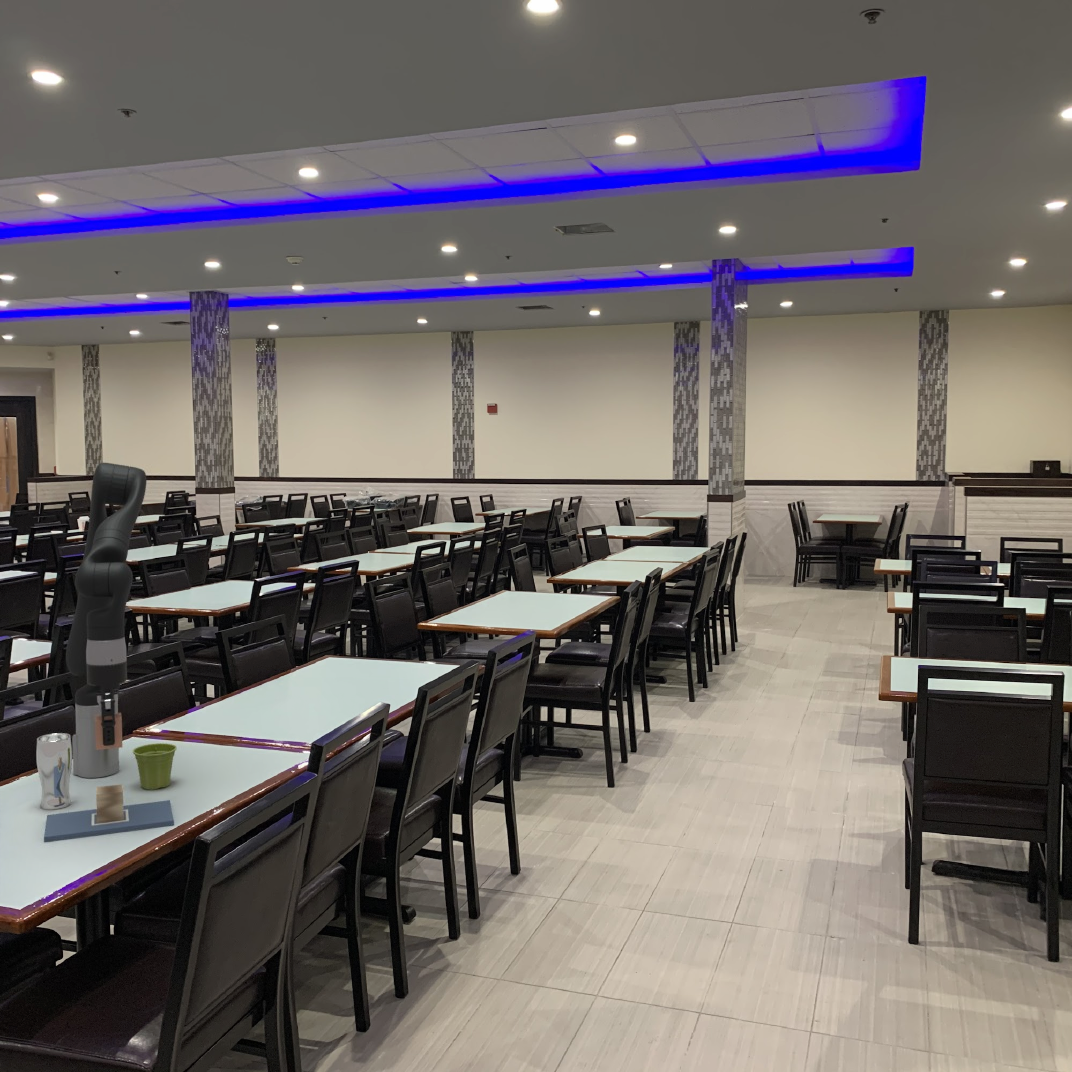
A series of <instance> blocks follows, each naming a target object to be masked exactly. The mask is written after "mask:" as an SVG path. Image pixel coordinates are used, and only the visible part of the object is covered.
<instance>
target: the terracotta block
mask: <svg viewBox="0 0 1072 1072" xmlns="http://www.w3.org/2000/svg"><path fill="white" fill-rule="evenodd" d="M122 718H123V717H122V712H118V713H117V714H116V715H115V721H116V725H115V727H114V731H115V744H114V745H109V746H104V745H103V728H102V726H101V723H102V717H101V716H99V715H95V743H96V750H101V749H111V748H119V749H120V748H123V723H122V722H123V721H122V720H123V719H122ZM106 720H112V716H106V717H104V721H106Z"/></svg>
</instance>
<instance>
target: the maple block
mask: <svg viewBox="0 0 1072 1072" xmlns="http://www.w3.org/2000/svg"><path fill="white" fill-rule="evenodd" d="M123 787H124V786H123V783H121V784H112V785H106V786H105V785H103V786H97V787H96V788H95V789H96V791H95V793H96V796H95V797H96V798H95V799H96V804H95V805H96V809H97V824H98V823H105V822H113V821H121V820H124V817H123V806H124V788H123Z"/></svg>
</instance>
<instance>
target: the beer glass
mask: <svg viewBox="0 0 1072 1072" xmlns="http://www.w3.org/2000/svg"><path fill="white" fill-rule="evenodd" d="M71 739H72V735H71V734H69V733H67V732H65V733H63V732H58V733H57V732H56V733H49V734H48V733H47V734H44V735H41V736H39V737H37V738H36V766H37V771H38V778H39V781H40V786H41V799H40V805H39V808H40V809H42V810H45V811H48V810H49V811H50V810H53V811H54V810H60V809H64V808H67V807H69V806H70V805H72V798H71V795H70V778H71V773H72V772H71V771H72V768H73V744H72V740H71Z"/></svg>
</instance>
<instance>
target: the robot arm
mask: <svg viewBox="0 0 1072 1072" xmlns="http://www.w3.org/2000/svg"><path fill="white" fill-rule="evenodd" d="M94 470H95V471H94V474H93V478H92V484H91V497H90V510H89V521H88V528H87V529H88V530H87V536H86V543H85V548H84V553H83V557H82V558H83V559H82V562H81V564H80V565H79V567H78V569H77V571H76V574H75V578H74V579H75V580H74V581H75V583H74V584H75V588H76V590H77V592H78V596H77V600H76V601H77V603H76V606H75V612H74V617H73V621H72V624H71V628H70V632H69V637H68V639H67V644H66V651H65V661H66V662H65V664H66V666H67V670H68V671H69V673H70V674H71V675H73V676H76V677H86V684H84V685H83V686H81V687H80V688H79V689H77V690H76V692H75V695H74V701H75V704H74V705H75V707H74V708H75V733H74V734H73V735H72V736H71V739H72V740H71V744H72V768H73V769H72V773H73V775H74V776H78V777H80V778H84V779H87V778H89V779H91V778H92V779H94V778H104V777H108V776H112V775H114V774H116V773H118V772H119V771H120V759H119V758H120V748H111V749H101V750H96V743H95V715H99V716H101V717H102V723H101V726H102V728H103V745H104V746H109V745H114V744H115V731H114V727H115V725H116V721H115V715H116V714H117V713H119V707H118V706H119V704H118V703H119V702H118V701H119V691H120V686H121V684H123V683H125V682H126V681H127V680H128V671H127V669H128V668H127V667H128V663H127V662H128V661H127V660H128V659H127V645H126V639H125V638H126V637H125V613H126V607H127V602H128V597H129V595H130V592H131V587H132V584H133V577H134V575H133V571H132V569H131V568H130V566H129V565H128V564H127V558H128V554H129V548H130V542H131V536H132V533H133V529H134V528H135V524H136V522H137V520H138V517H139V513H140V510H141V508H142V505H143V502H144V499H145V496H146V495H145V494H146V491H147V488H146V487H147V474H146V472H145V470H143V469H141V468H139V467H135V466H131V465H130V466H129V465H124V464H123V465H122V464H118V463H109V462H100V463H98V464H97V466H96V467H95V469H94ZM106 505H110V506H111V505H113V506H117V507H118V506H119V507H121V508H120V509H118V510H117V511H116V512H114V513H113V514H111V515H110V516H109V517H108V515H107V506H106ZM106 716H112V720H106V721H104V717H106Z"/></svg>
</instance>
